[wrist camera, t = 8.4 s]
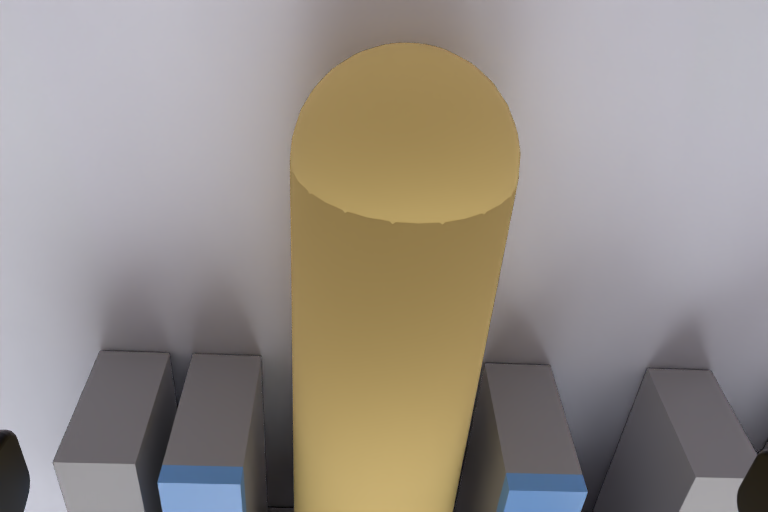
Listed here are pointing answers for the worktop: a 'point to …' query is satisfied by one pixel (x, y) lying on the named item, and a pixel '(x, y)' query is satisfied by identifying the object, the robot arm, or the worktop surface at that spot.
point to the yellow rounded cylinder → (394, 274)
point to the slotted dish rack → (482, 463)
